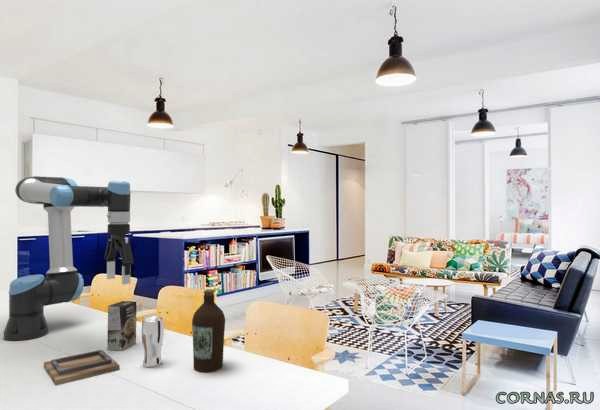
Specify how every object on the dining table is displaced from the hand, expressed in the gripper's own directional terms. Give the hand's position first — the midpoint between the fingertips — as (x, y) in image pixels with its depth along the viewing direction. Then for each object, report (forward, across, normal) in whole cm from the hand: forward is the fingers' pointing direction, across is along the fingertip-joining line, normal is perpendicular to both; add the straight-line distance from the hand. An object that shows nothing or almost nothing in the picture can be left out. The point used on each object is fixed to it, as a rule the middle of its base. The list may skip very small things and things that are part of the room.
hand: (118, 281), depth 153 cm
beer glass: (+25, +22, +2) cm, 34 cm away
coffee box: (+25, -2, +2) cm, 25 cm away
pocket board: (+25, +10, -16) cm, 31 cm away
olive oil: (+25, +37, +14) cm, 47 cm away
